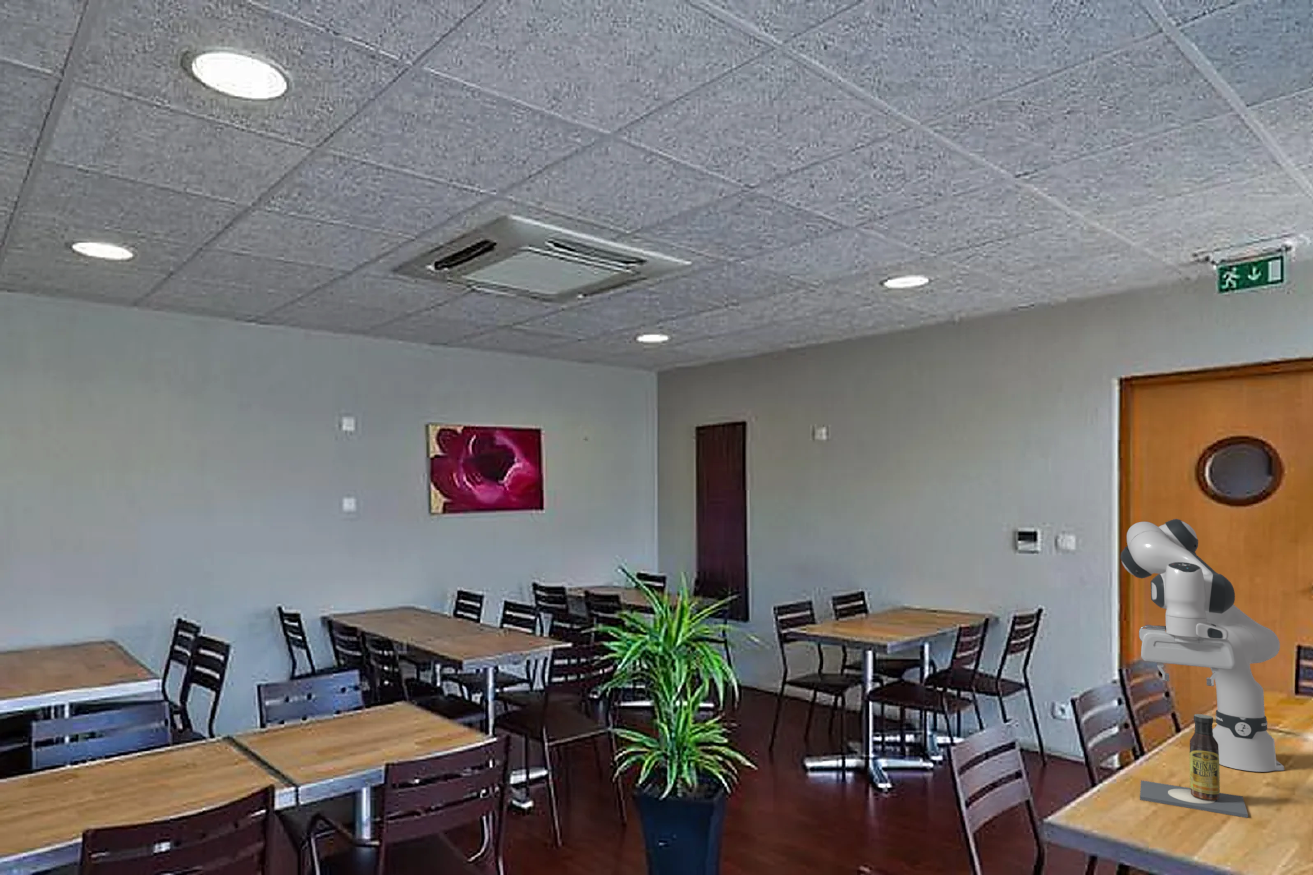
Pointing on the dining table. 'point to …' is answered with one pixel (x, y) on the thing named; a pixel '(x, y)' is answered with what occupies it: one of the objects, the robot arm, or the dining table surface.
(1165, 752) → the dining table surface
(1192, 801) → the mat
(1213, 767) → the sauce bottle
